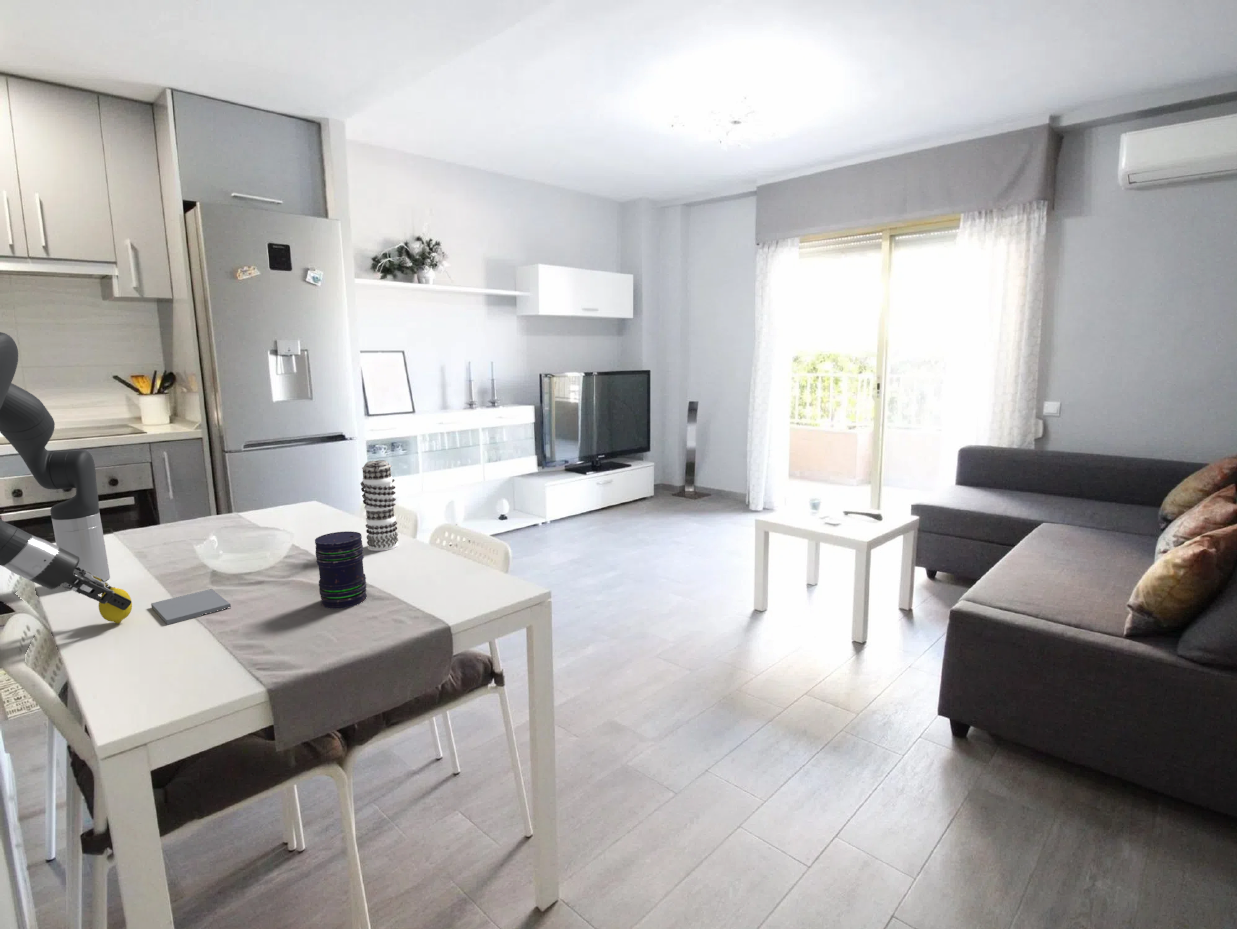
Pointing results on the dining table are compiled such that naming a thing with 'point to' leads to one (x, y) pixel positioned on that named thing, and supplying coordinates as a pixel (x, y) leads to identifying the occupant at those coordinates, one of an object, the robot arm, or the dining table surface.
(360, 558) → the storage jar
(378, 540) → the decorative candle
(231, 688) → the dining table surface
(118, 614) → the lemon
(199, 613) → the mat
